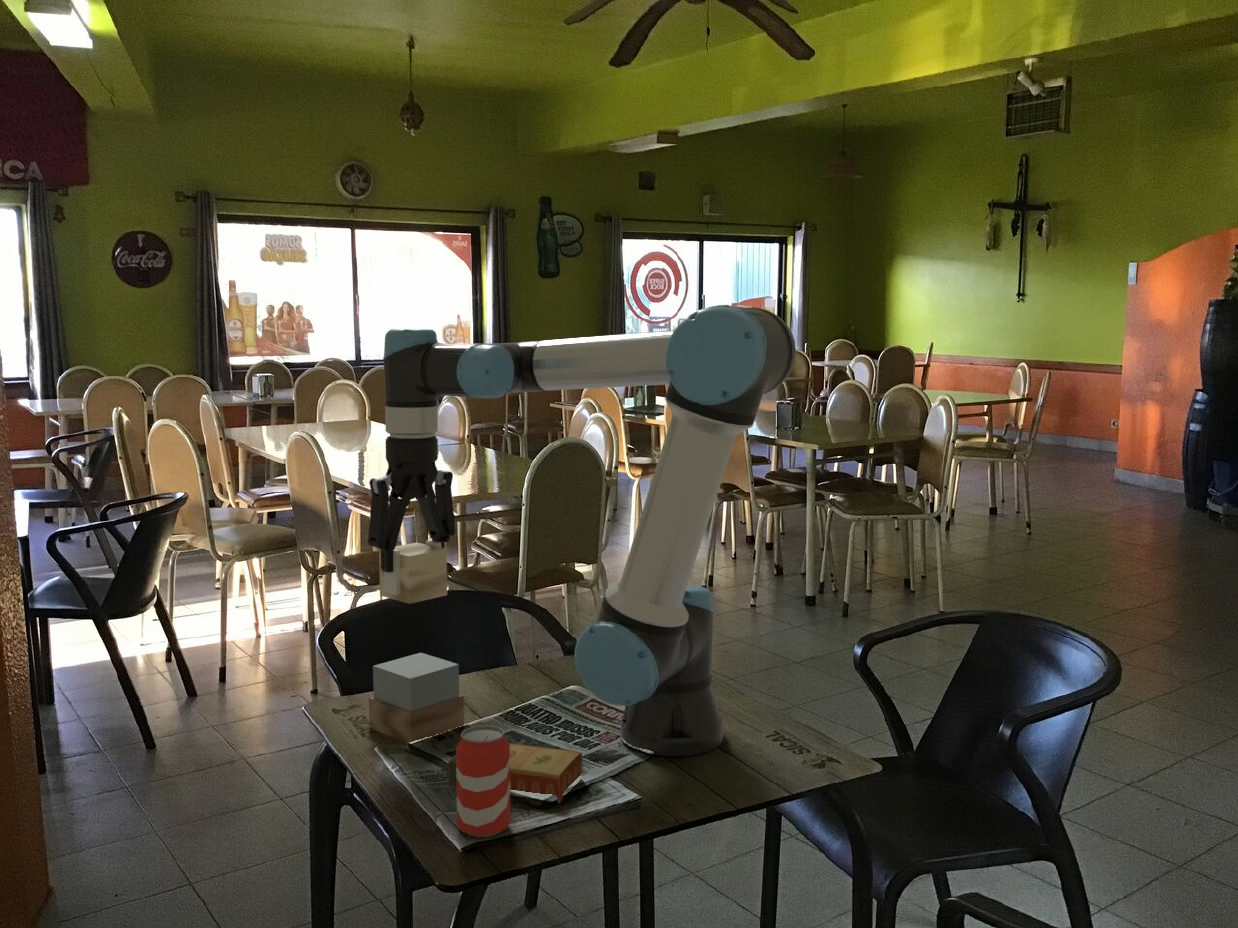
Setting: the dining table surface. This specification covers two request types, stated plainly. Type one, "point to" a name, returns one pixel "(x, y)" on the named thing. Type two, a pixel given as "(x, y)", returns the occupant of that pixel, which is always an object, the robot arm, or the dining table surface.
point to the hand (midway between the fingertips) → (413, 588)
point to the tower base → (415, 719)
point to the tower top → (416, 681)
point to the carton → (537, 769)
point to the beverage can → (483, 781)
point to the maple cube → (419, 573)
